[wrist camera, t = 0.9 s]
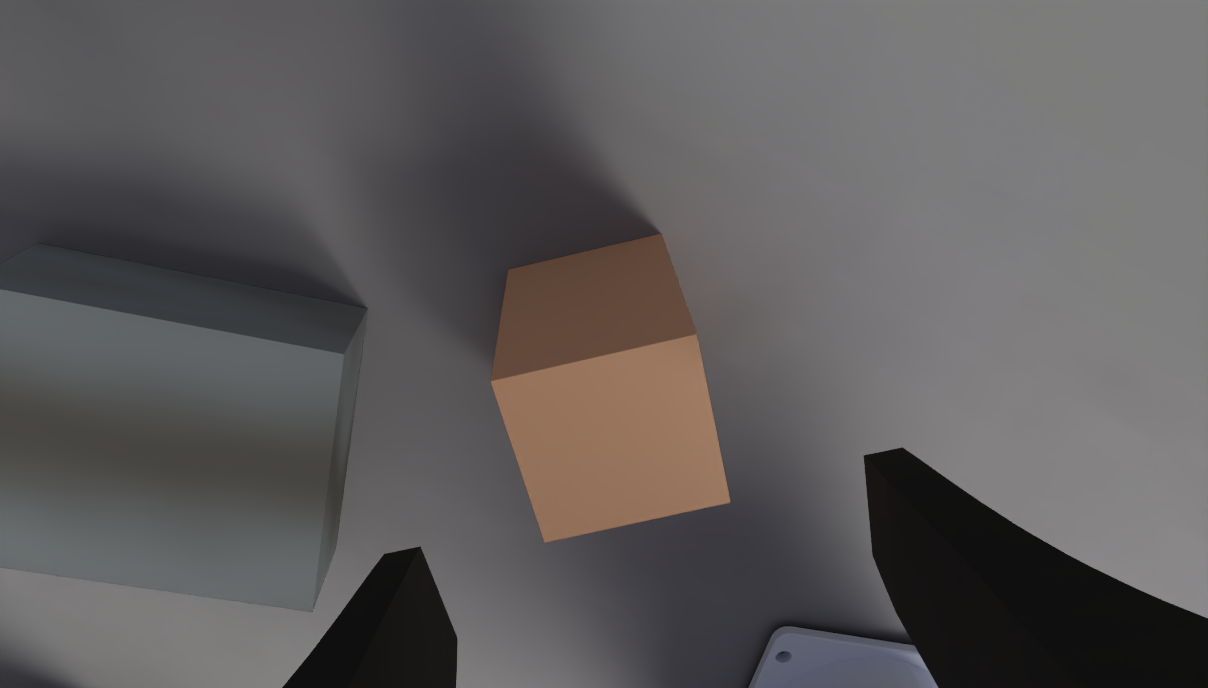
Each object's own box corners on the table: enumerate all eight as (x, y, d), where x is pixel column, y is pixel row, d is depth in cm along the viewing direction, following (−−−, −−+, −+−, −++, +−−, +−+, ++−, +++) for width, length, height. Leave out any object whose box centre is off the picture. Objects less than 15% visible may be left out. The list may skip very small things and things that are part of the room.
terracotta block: (661, 233, 21) (697, 333, 15) (689, 369, 22) (730, 502, 17) (508, 269, 21) (490, 381, 16) (548, 401, 23) (544, 542, 17)
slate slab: (339, 539, 25) (312, 611, 22) (57, 495, 24) (-7, 566, 21) (370, 303, 22) (344, 354, 19) (45, 237, 20) (-33, 282, 18)
